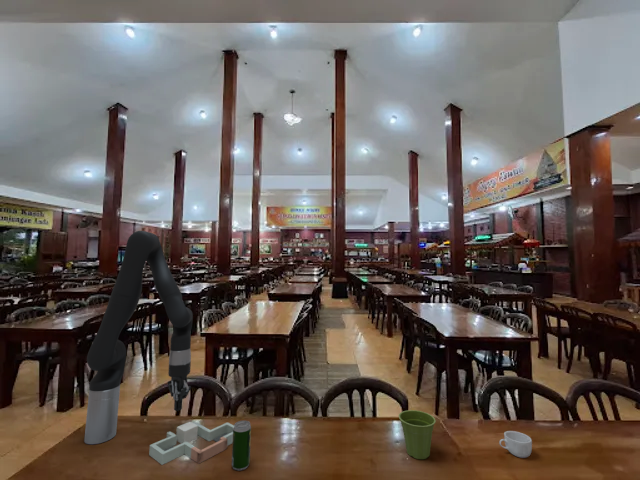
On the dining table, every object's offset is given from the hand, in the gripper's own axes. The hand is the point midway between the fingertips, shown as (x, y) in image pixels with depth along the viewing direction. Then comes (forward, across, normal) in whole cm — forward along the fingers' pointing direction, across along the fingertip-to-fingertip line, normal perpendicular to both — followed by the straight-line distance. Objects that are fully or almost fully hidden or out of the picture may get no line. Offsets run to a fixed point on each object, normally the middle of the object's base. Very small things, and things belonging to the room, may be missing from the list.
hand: (177, 409), depth 113 cm
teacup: (+11, +100, +63) cm, 119 cm away
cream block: (+8, +7, 0) cm, 11 cm away
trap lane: (+8, +13, 0) cm, 15 cm away
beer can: (+9, +34, +2) cm, 35 cm away
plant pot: (+10, +74, +42) cm, 86 cm away
